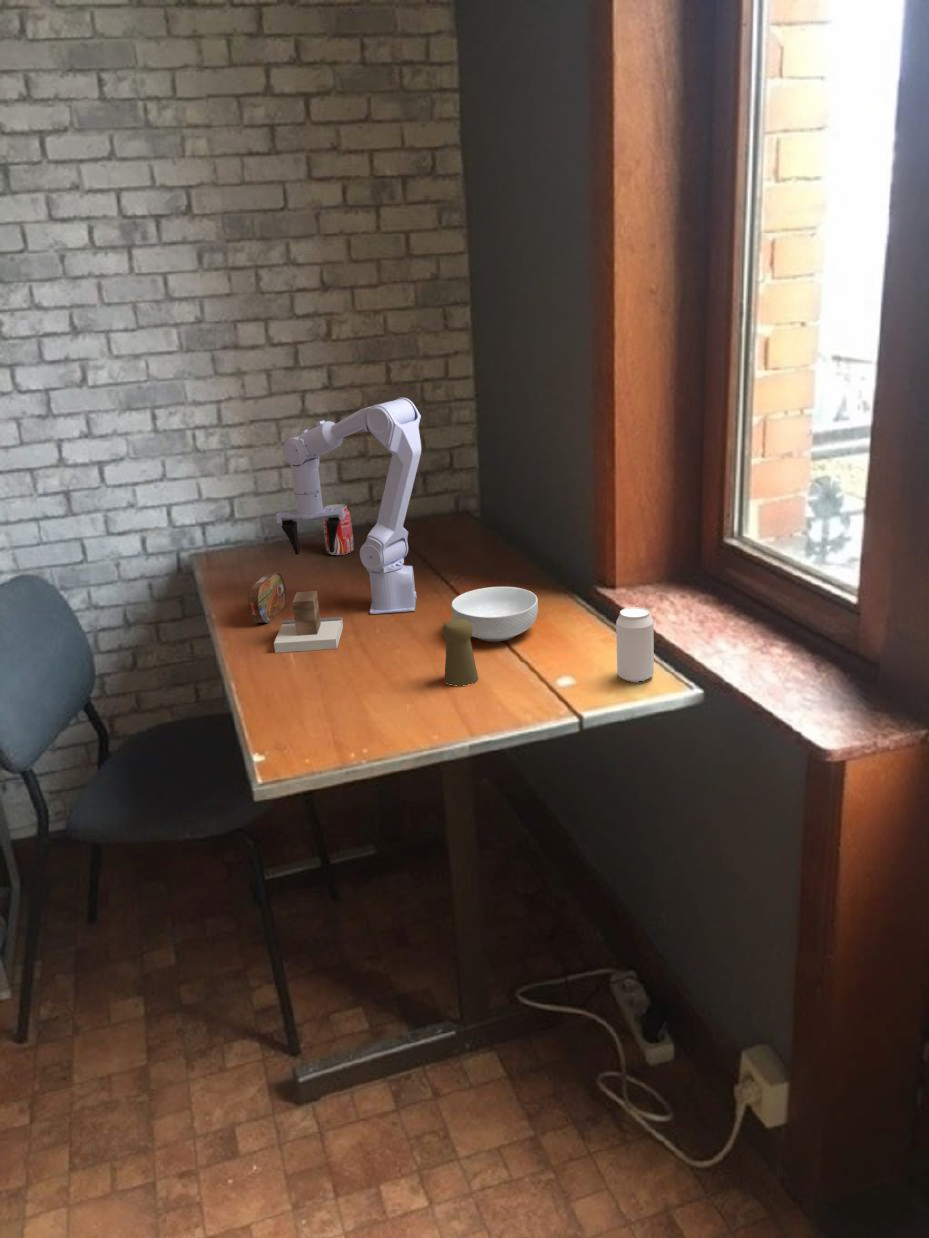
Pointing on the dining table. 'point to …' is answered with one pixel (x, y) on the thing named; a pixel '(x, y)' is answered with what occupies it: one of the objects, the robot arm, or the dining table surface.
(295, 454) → the robot arm
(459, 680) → the olive pawn
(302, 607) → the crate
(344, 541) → the soda can
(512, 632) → the cereal bowl
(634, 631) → the beverage can
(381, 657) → the dining table surface
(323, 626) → the dock
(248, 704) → the dining table surface
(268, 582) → the tin
